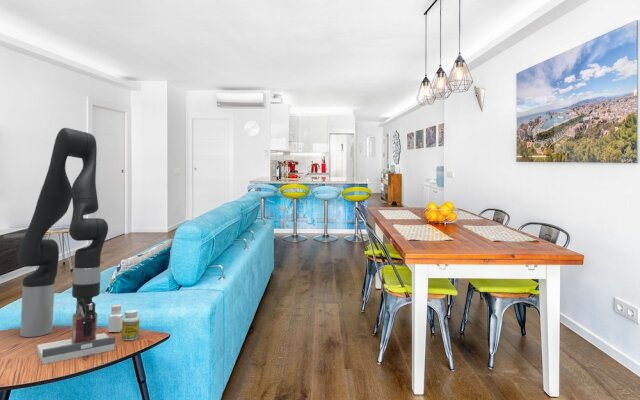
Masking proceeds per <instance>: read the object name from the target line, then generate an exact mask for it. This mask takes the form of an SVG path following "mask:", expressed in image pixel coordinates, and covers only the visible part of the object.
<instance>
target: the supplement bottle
mask: <svg viewBox="0 0 640 400" xmlns="http://www.w3.org/2000/svg"><path fill="white" fill-rule="evenodd" d="M124 316H125V317H123V321H122V330H121V340H122V339H123V341H124V340H132V341H135V340H137V339H136V338H138V339H139V337H140V316H138V310H137V309H127V310H125V312H124ZM134 339H135V340H134Z"/></svg>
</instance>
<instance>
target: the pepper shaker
mask: <svg viewBox="0 0 640 400" xmlns="http://www.w3.org/2000/svg"><path fill="white" fill-rule="evenodd" d="M121 311H122V304H113V305H111V313H110V315H108V327H107V331H108V333H109V332H119V333H120V332H122V321H123V318H124V317H123V315H124V314H123V313H122V312H121Z"/></svg>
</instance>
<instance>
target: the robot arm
mask: <svg viewBox="0 0 640 400" xmlns="http://www.w3.org/2000/svg"><path fill="white" fill-rule="evenodd" d="M97 154H98V149H97V140H96V137H95V136H94V134H92V133H89V132H86V131H83V130H82V131H81V130H78V129H74V128H69V127H63V128H61V129H60V130H59V131H58V133H57V134H56V137H55V139H54V144H53V149H52V153H51V157H50V161H49V166H48V170H47V173H46V176H45V179H44V181H43V184H42V186H41V189H40V193H39V195H38V199H37V202H36V206H35V209H34V212H33V214H32V218H31V220H30V223H29V225H28V228H27V230H26V232H25V233H24V235H23V238H22V240H21V243H20V245H19V248H18V252H17V261H18V263H19V265H21V267H25V268H27V267H28V268H31V267H38V268H37V269H36V270H34V272H32V273H30V274H28V275H26V276H25V277H23V279H22V292H21V311H20V313H21V314H20V315H21V316H20V330H19V335H20V336H21V337H22V338H23V337H24V338H34V337H41V336H45V335H47V334H48V335H49V334H50V333H52V332H53V324H54V323H53V322H54V302H55V281H56V278H57V275H58V266H59V258H60V257H59V256H60V248H59V244H58V243H57V241H55V240H54V239H50V238H48V239H47V238H46V239H44V237H45V235H46V234H47V232H48V231H49V230H50V229H51V228H52V227H53V226H54V225H55V224H56V223H57V222H59V220H61V219H62V218H63V217H64V216H65V214H67V212H68V210H69V207H70V205H71V202H72V216H71V220H70V224H69V229H68V233H69V236H70V238H71V239H72V240H74V241H77V242H78V241H79V242H80V241H82V242H84V241H92V242H91V243H90V244H89V245H87V246H84V247H81V248H78V249H76V250H75V252H74V267H73V274H72V288H71V289H72V292H71V296H72V297H73V298H74V299H76V306H75V307H76V308H75V313H81V318H83V324H84V325H83V336H84V337H87V336H91V335H92V323H94V322H95V312H96V302H94V301H93V298H95V297H98V296H99V295H100V293H101V257H102V256H101V255H102V252H103V251H102V250H103V247H104V243H105V241H106V238H107V235H108V232H109V224H108V222H107V221H106V219H104V218H94V217H93V218H86V217H85V218H84V216H87V215H91V214H94V213H96V212H98V211H99V200H98V195H97V194H98V193H97V185H96V183H97V181H96V180H97V179H96V177H97V176H96V174H97ZM68 157H72V158H77V159H81V160H82V169H81V170H80V173H79V174H78V175H77V177H76V178H75V180H74V182H73V183H72V185H71V183H70V180H69V178H68V175H67V171H66V170H67V169H66V163H67V160H68ZM88 317H90V319H88ZM87 319H88V320H87Z"/></svg>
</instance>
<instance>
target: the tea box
mask: <svg viewBox="0 0 640 400" xmlns="http://www.w3.org/2000/svg"><path fill="white" fill-rule="evenodd" d="M88 319H90V317H88ZM88 319H87V320H88ZM97 324H98V313H97V312H96V311H95V322H94V323H92V335H91V336H87V337H84V336H83V325H84V324H83V318H81V313H76V312H75V313H72V321H71V338H70V339H71V344H75V343H81V342H86V341H92V340H96V334H97Z"/></svg>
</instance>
